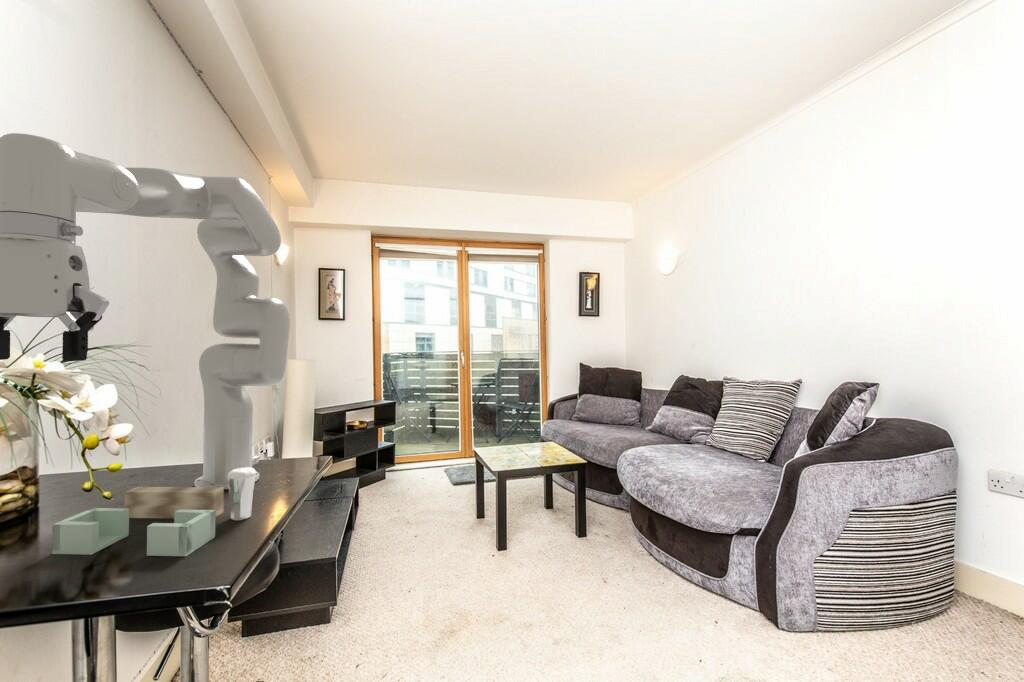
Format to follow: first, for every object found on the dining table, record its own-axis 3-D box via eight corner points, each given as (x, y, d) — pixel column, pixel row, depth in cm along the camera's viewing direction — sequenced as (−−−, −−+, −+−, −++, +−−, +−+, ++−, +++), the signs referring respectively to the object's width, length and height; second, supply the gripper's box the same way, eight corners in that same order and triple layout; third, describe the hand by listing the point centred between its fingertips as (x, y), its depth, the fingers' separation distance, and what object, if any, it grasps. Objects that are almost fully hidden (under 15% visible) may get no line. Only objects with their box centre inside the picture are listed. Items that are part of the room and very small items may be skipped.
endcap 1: (52, 553, 71) (52, 524, 71) (92, 534, 78) (93, 507, 78) (91, 554, 71) (91, 525, 71) (128, 535, 78) (129, 508, 78)
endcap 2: (215, 536, 78) (215, 510, 78) (186, 556, 71) (186, 526, 71) (179, 536, 78) (179, 509, 78) (146, 555, 71) (147, 526, 71)
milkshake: (256, 509, 90) (256, 458, 90) (254, 519, 85) (255, 465, 85) (228, 513, 88) (229, 460, 88) (225, 523, 83) (226, 467, 83)
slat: (124, 519, 85) (124, 491, 85) (137, 512, 88) (137, 486, 88) (213, 519, 86) (214, 492, 86) (223, 513, 89) (223, 487, 89)
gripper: (126, 241, 67) (125, 359, 67) (-6, 236, 66) (-8, 358, 66) (84, 229, 60) (82, 362, 60) (-67, 223, 58) (-68, 360, 58)
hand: (35, 360), depth 63 cm, fingers open, 9 cm apart
